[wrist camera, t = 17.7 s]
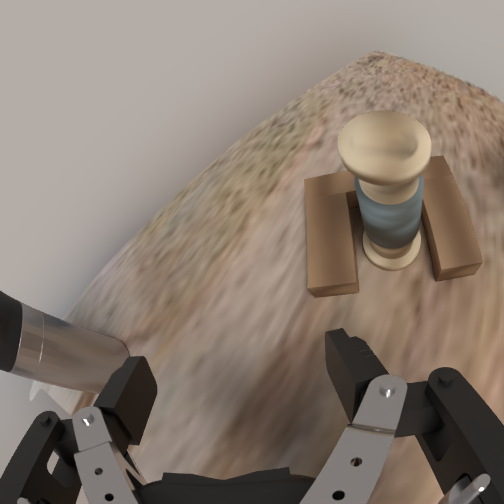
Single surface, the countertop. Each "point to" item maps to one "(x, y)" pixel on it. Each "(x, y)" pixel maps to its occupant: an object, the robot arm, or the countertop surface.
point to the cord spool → (387, 182)
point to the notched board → (342, 237)
